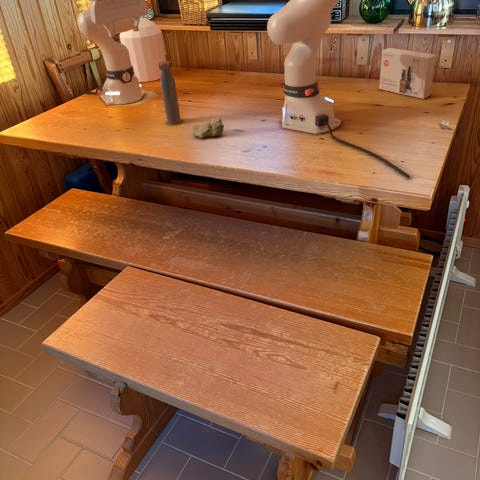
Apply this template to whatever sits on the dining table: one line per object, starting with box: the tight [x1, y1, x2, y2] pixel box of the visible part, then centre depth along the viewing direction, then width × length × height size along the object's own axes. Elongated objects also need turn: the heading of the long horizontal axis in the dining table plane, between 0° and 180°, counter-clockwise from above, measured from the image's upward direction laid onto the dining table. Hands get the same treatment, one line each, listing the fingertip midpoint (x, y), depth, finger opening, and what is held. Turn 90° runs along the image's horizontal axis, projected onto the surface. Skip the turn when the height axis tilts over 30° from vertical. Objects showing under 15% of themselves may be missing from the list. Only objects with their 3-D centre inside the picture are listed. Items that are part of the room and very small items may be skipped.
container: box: [119, 17, 167, 83], centre depth 235 cm, size 21×21×28 cm
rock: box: [192, 116, 225, 139], centre depth 168 cm, size 11×6×10 cm
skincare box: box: [378, 47, 437, 100], centre depth 184 cm, size 21×6×16 cm, turn 40°
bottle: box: [159, 69, 182, 126], centre depth 177 cm, size 6×6×22 cm
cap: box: [159, 60, 172, 70], centre depth 171 cm, size 4×4×2 cm
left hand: (124, 33), depth 164 cm, fingers open, 8 cm apart
